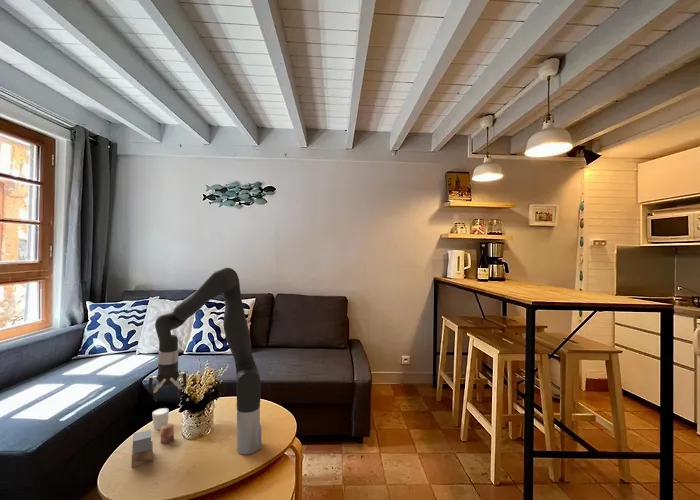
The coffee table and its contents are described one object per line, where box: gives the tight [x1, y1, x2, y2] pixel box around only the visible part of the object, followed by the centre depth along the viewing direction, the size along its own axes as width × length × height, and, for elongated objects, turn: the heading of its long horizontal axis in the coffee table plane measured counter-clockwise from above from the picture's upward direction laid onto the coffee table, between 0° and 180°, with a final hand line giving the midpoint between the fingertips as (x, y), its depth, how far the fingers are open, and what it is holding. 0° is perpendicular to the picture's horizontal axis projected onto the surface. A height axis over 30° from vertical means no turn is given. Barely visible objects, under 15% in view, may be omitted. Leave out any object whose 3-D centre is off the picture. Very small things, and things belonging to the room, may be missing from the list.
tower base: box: [131, 440, 154, 468], centre depth 140 cm, size 7×7×5 cm
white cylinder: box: [151, 407, 170, 431], centre depth 164 cm, size 7×7×7 cm
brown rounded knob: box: [159, 423, 175, 445], centre depth 153 cm, size 5×5×6 cm
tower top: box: [132, 429, 152, 454], centre depth 139 cm, size 6×6×5 cm
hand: (167, 398), depth 150 cm, fingers open, 8 cm apart
